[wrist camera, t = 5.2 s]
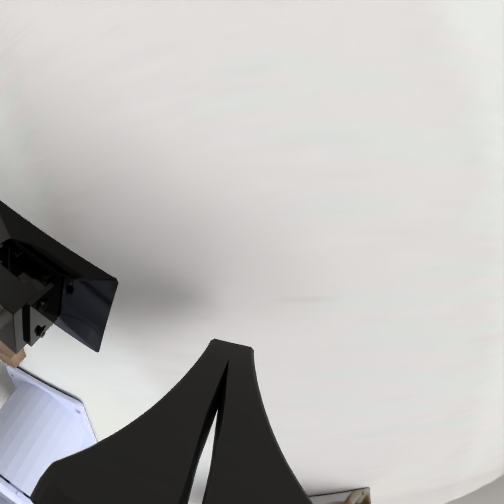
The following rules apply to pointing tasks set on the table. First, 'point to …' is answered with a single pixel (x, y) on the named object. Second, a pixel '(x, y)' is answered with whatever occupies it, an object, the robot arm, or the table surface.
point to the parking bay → (11, 356)
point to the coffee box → (344, 497)
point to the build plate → (48, 287)
